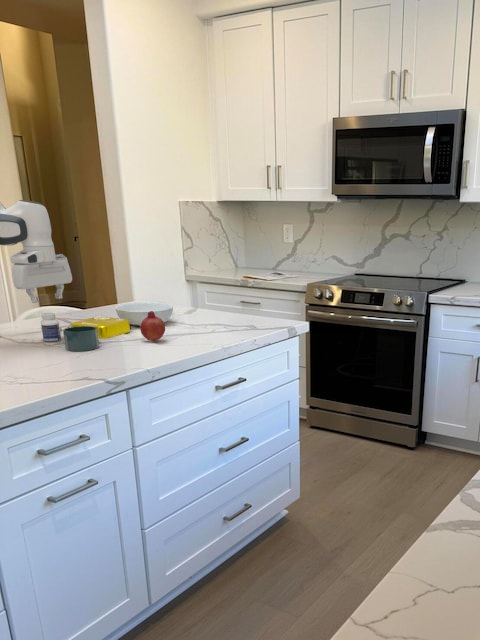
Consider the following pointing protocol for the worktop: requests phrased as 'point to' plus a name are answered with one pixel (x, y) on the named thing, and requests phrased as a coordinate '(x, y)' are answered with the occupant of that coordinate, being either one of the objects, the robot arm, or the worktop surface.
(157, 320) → the fruit
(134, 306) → the serving bowl
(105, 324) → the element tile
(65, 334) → the dark teal round container
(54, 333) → the pill bottle
